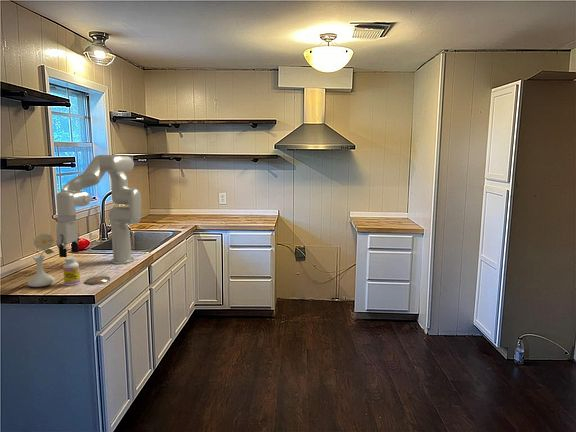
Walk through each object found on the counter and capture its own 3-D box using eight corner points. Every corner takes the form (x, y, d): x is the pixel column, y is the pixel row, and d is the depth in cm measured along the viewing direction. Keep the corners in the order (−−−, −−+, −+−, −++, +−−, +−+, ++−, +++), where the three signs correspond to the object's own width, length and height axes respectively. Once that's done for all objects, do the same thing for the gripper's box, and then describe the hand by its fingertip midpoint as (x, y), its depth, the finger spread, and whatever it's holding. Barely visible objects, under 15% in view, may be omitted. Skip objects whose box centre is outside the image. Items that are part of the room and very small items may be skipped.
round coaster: (92, 277, 209) (92, 275, 209) (114, 277, 209) (114, 276, 209) (81, 284, 198) (80, 282, 198) (103, 284, 198) (103, 283, 198)
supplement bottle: (64, 287, 195) (61, 260, 193) (65, 282, 201) (63, 257, 199) (79, 285, 197) (77, 259, 195) (80, 281, 203) (78, 255, 201)
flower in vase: (22, 289, 191) (17, 236, 187) (35, 281, 203) (30, 231, 199) (52, 288, 192) (47, 235, 188) (63, 280, 204) (58, 230, 200)
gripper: (69, 216, 203) (71, 250, 205) (47, 221, 185) (50, 258, 188) (84, 216, 202) (86, 250, 205) (64, 221, 185) (66, 259, 188)
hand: (69, 254), depth 196 cm, fingers open, 9 cm apart
